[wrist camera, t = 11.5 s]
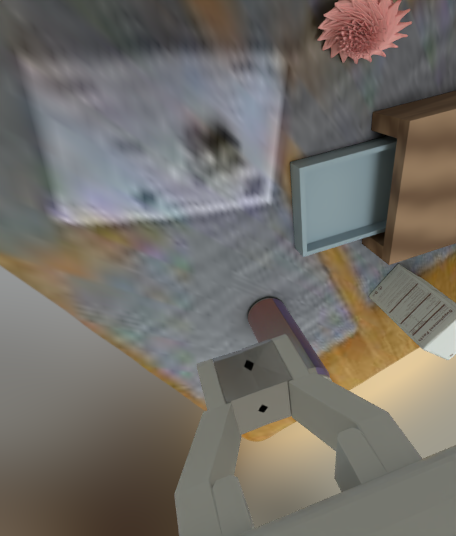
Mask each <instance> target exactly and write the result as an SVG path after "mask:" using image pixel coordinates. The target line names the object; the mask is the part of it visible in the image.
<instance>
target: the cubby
mask: <svg viewBox="0 0 456 536" xmlns="http://www.w3.org/2000/svg"><path fill="white" fill-rule="evenodd" d="M371 130H372V131H375V132H378V133H382V134H385V135H388V136H391V137H394V138H397V144H396V152H395V159H394V167H393V175H392V183H391V191H390V198H389V206H388V214H387V222H386V230H385V232H382V233H379V234H375V235H372V236H369V237H366V238H363V239H362V244H363V245H364V246H366V247H367V248H368V249H370V250H371V251H372V252H373V253H375V254H376V255H377V256H378V257H380V258H381V259H382V260H383V261H385V262H386V263H387V264H389V265H390V264H393V263H396V262H399V261H402V260H406V259H409V258H412V257H415V256H418V255H421V254H424V253H427V252H430V251H433V250H436V249H439V248H442V247H445V246H448V245H452V244H455V243H456V91H453V92H449V93H445V94H441V95H437V96H433V97H430V98H426V99H422V100H418V101H414V102H410V103H406V104H403V105H399V106H395V107H391V108H387V109H383V110H379V111H376V112H373V116H372V128H371Z"/></svg>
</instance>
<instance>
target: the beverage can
mask: <svg viewBox="0 0 456 536" xmlns="http://www.w3.org/2000/svg"><path fill="white" fill-rule="evenodd" d="M248 322H249V324H250V326H251V328H252V330H253V332H254V334H255V336H256V338H257V341H258V343H260V342H263V341H265V340H268V339H272V338H275V337H278V336H281V335H284V334H286V335H287V336H288V337H289V339H290V341H291V342H292V344H293V346H294V347H295V349H296V351H297V352H298V354H299V356H300V357H301V359H302V361H303V362H304V364H305V366H306V367H307V369H308V371H309V373H313V372H315V373H317V374H319V375H321V376H323V377H324V378H326V379H328V380H330V381H332V380H331V379H330V376H329V373H328V371H327V370H326V368H325V366H324V365H323V363H322V362H321V360H320V359H319V357H318V356H317V354H316V353H315V351H314V350H313V348H312V347H311V345H310V344H309V342H308V341H307V339H306V337H305V336H304V334H303V333H302V331H301V330H300V328H299V327H298V325H297V324H296V322H295V321H294V319H293V318H292V316H291V315H290V313H289V312H288V310H287V308H286V307H285V305H284V304H283V303H282V302H281V301H280V300H278V299H275V298H265V299H262V300H260V301H258V302H256V303H255V304H254V305H253V306H252V308H251V309H250V311H249V315H248Z"/></svg>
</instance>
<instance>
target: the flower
mask: <svg viewBox="0 0 456 536" xmlns="http://www.w3.org/2000/svg"><path fill="white" fill-rule="evenodd" d="M400 2H401V0H397V1H396V2H395V3H393V0H338V2H335V4H334V5H335V7H334V8H333V9H332V10H331V11H329V12H327V13H325V14H323V15H324V17H327V18H326V19H325V20H324V21H323V22H322V23H321V24H320V26H319V27H318V29H324V31H323V32H322V34H321V35H320V37H319V38H318V39H317V40H318V41H321V40H325V39H326V41H325V43H324V46H323V49H322V50H323V51H324V50H326V49H328V48H330V47H331V58H333V57H334V56H335V55H337V54H338V53H340V56H341V59H342V62H345V60H346V58H347V57H348V56H349V57H350V58H352V59H353V60H354V62H355V64H356V63H358V59H360V58H364V59H367V60H368V61H372V59H371V56H372V55H373V54H376V55H381V56H383V57H386V54H385V53H384V52H383V51H382V50H384V49H386V48H390V47H393V48H398V46H396V45H395V44H393V43H392V42H394V41H396V40H398V39H399V38H401V37H407V36H408V35H407V34H401V33H397V32H398V31H400V30H402V29H403V28H405V27H406V26H408V25H410V24H412V22H411V21H410V22H399V21H400V20H401V18H402V17H403V16H405V15H406V14H407V13H408V12H409V11H410V10H411V9H410V10H409V9H407V10H404V11H398V7H399V4H400ZM370 63H371V62H370Z"/></svg>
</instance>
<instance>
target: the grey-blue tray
mask: <svg viewBox="0 0 456 536" xmlns="http://www.w3.org/2000/svg"><path fill="white" fill-rule="evenodd" d="M396 144H397V138H394V137H391V136H385V137H382V138H378V139H374V140H371V141H367V142H363V143H359V144H356V145H352V146H348V147H345V148H341V149H337V150H333V151H330V152H326V153H322V154H319V155H315V156H311V157H307V158H304V159H300V160H296V161H293V162H290V171H291V188H292V206H293V223H294V240H295V248H296V250H297V251H298V252H299V253H300V254H301V255H302V256H303V257H305V256H308V255H311V254H314V253H317V252H321V251H324V250H327V249H330V248H334V247H337V246H340V245H343V244H346V243H350V242H353V241H356V240H359V239H363V238H366V237H369V236H372V235H375V234H379V233H382V232H385V230H386V222H387V214H388V206H389V198H390V191H391V183H392V175H393V167H394V159H395V152H396Z"/></svg>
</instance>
